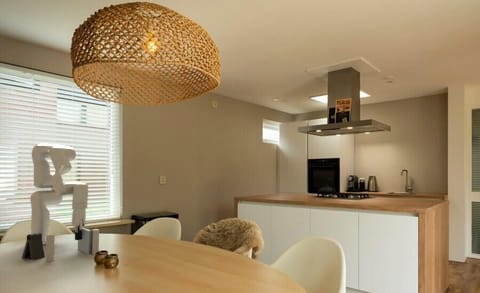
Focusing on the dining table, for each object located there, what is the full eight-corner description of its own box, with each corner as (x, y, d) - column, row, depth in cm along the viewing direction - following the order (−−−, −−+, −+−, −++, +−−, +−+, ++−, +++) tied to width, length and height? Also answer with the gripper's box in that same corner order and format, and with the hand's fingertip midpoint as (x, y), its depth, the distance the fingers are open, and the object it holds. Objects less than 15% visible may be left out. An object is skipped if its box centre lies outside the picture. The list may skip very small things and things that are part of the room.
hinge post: (90, 253, 174) (91, 229, 175) (96, 252, 176) (97, 228, 177) (92, 254, 172) (93, 230, 173) (98, 253, 174) (99, 229, 175)
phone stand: (21, 258, 165) (23, 233, 166) (33, 255, 170) (34, 231, 171) (33, 260, 161) (34, 235, 162) (45, 257, 167) (46, 233, 167)
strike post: (45, 260, 161) (46, 234, 162) (52, 259, 163) (53, 233, 164) (46, 261, 159) (47, 235, 159) (53, 260, 160) (54, 234, 161)
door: (92, 254, 173) (92, 229, 174) (89, 254, 172) (90, 230, 173) (80, 248, 185) (81, 226, 186) (77, 249, 184) (78, 226, 185)
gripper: (69, 204, 184) (67, 238, 183) (75, 207, 172) (74, 243, 171) (83, 204, 189) (82, 236, 188) (90, 206, 177) (89, 241, 176)
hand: (78, 239), depth 179 cm, fingers closed
